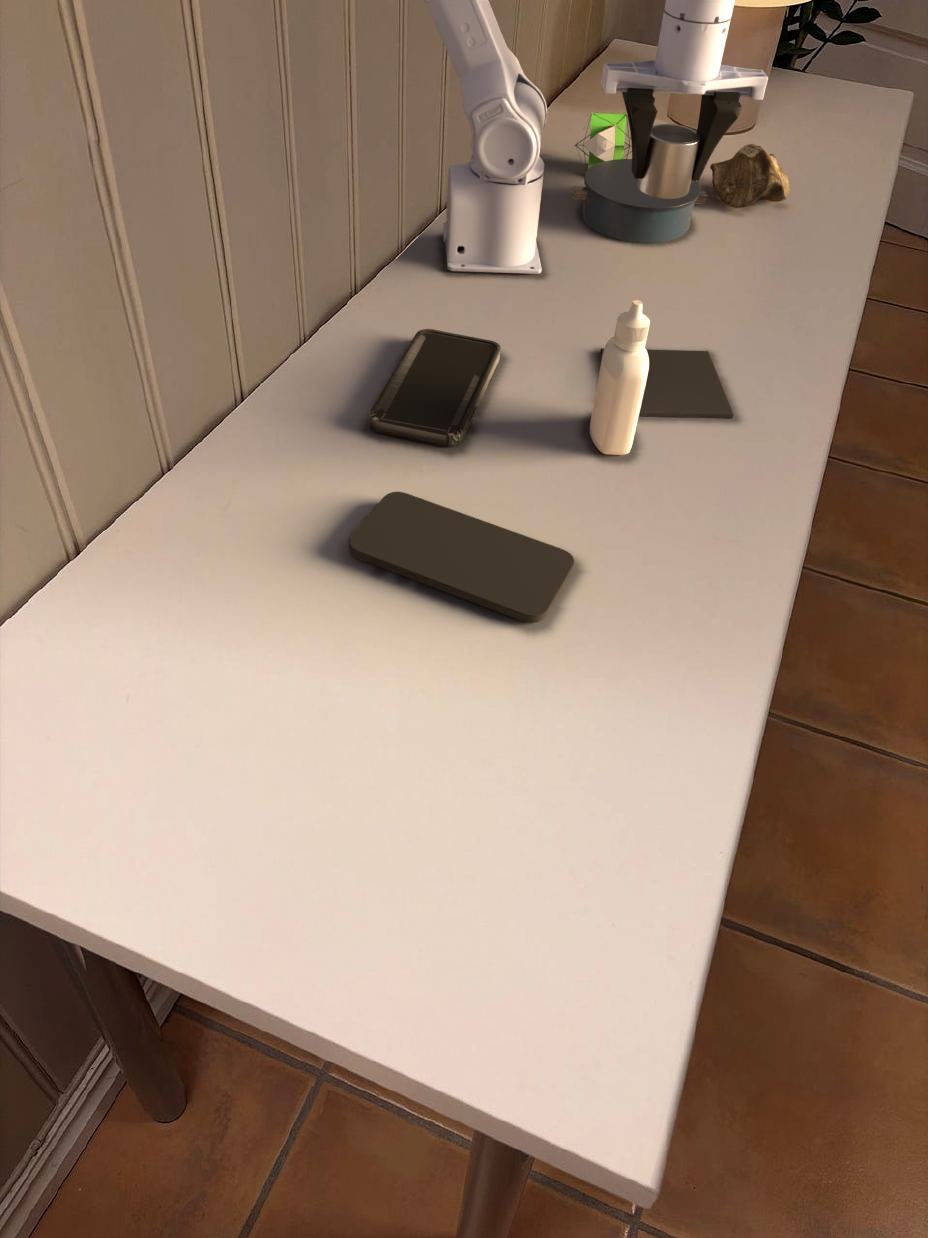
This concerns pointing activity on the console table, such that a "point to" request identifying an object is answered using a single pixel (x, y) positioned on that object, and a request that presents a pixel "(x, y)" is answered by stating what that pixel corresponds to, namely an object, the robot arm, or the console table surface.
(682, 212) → the grey cooking pot
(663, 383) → the mat
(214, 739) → the console table surface
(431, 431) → the phone
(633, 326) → the eye dropper bottle
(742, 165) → the fossilized seashell
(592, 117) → the geometric puzzle
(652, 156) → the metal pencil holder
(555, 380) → the console table surface
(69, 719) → the console table surface
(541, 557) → the phone
